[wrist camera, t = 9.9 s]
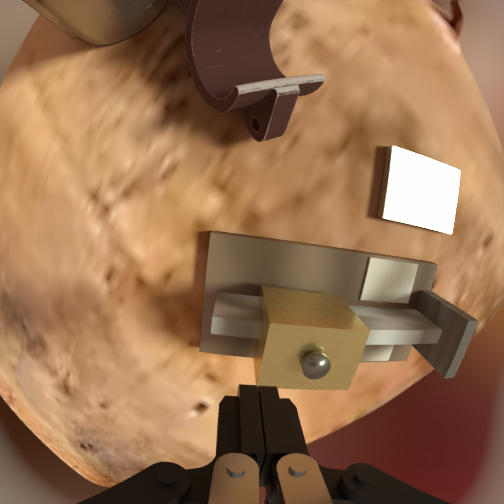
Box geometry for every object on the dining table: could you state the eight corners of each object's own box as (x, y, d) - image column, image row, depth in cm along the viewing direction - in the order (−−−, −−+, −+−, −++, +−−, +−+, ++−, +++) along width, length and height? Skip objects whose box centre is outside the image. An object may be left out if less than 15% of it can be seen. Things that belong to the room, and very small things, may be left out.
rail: (200, 345, 24) (187, 407, 16) (211, 230, 22) (196, 254, 14) (402, 355, 25) (441, 400, 17) (431, 261, 23) (487, 288, 15)
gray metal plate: (377, 217, 22) (382, 218, 21) (386, 146, 21) (392, 145, 20) (445, 232, 23) (451, 234, 22) (453, 170, 21) (460, 170, 20)
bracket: (228, 157, 18) (290, 49, 9) (152, 14, 18) (165, -73, 8) (301, 135, 20) (384, 51, 11) (213, 5, 20) (241, -73, 10)
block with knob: (252, 338, 22) (257, 394, 15) (261, 285, 21) (271, 329, 14) (325, 344, 22) (352, 397, 16) (339, 295, 21) (375, 337, 15)
